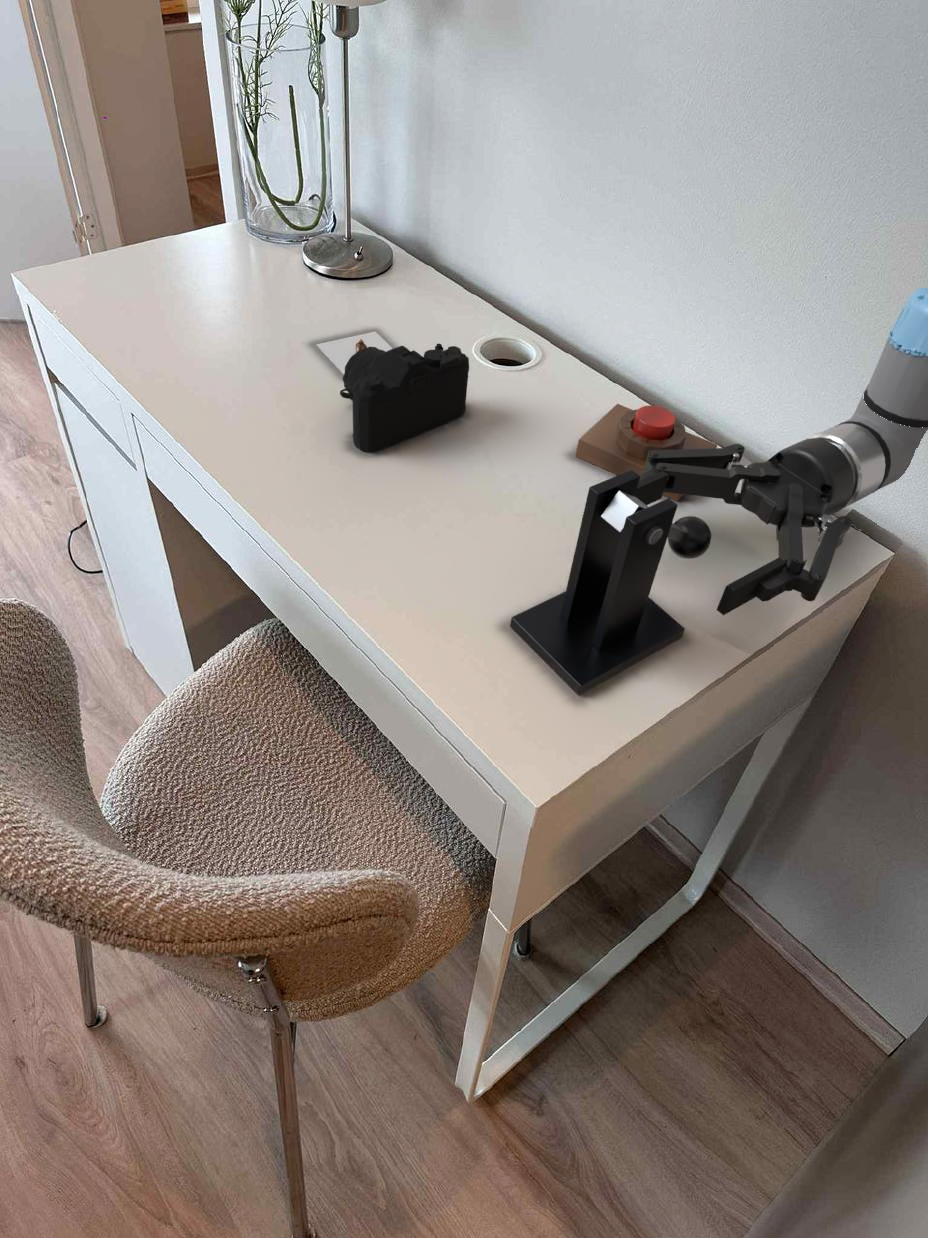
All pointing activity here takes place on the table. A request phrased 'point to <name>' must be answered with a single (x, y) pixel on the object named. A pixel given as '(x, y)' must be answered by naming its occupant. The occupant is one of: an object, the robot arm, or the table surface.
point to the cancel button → (653, 422)
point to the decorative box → (351, 347)
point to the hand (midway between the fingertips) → (664, 552)
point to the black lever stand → (605, 594)
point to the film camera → (403, 393)
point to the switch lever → (684, 536)
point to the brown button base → (630, 443)
